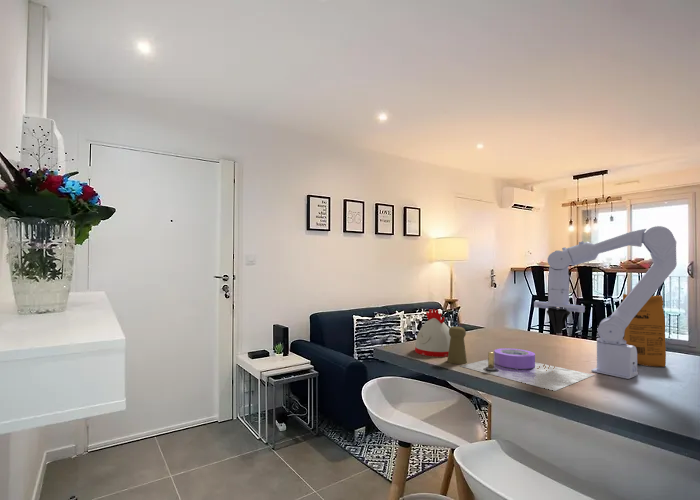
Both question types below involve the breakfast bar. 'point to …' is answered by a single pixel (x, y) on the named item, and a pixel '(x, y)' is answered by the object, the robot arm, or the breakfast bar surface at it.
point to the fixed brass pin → (491, 362)
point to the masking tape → (514, 358)
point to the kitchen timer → (433, 336)
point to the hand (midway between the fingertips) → (558, 333)
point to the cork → (457, 346)
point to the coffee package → (648, 333)
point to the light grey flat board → (534, 374)
